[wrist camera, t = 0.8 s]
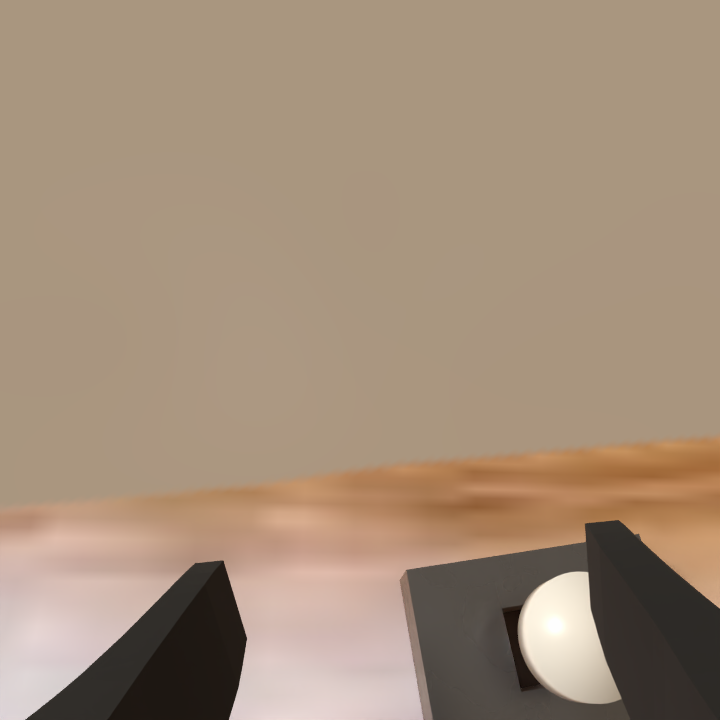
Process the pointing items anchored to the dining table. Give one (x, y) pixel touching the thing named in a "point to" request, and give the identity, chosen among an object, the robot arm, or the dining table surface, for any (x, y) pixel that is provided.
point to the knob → (565, 641)
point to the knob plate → (485, 637)
